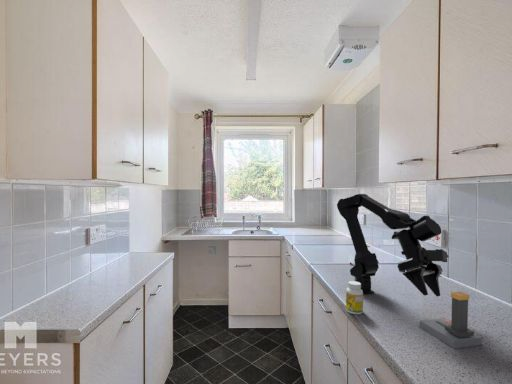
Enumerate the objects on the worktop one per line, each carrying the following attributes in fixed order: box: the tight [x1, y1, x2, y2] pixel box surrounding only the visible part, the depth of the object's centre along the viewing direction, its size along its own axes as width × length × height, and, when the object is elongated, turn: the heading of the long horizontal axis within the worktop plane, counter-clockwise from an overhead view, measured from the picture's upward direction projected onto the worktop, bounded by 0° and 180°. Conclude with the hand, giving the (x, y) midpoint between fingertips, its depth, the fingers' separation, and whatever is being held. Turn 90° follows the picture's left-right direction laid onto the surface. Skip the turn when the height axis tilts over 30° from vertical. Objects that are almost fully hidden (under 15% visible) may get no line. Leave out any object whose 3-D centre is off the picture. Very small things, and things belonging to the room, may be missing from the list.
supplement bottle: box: [345, 280, 364, 315], centre depth 89 cm, size 5×5×10 cm
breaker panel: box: [419, 317, 483, 349], centre depth 75 cm, size 11×9×2 cm
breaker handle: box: [445, 291, 475, 337], centre depth 72 cm, size 4×5×11 cm
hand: (432, 295), depth 81 cm, fingers open, 9 cm apart
